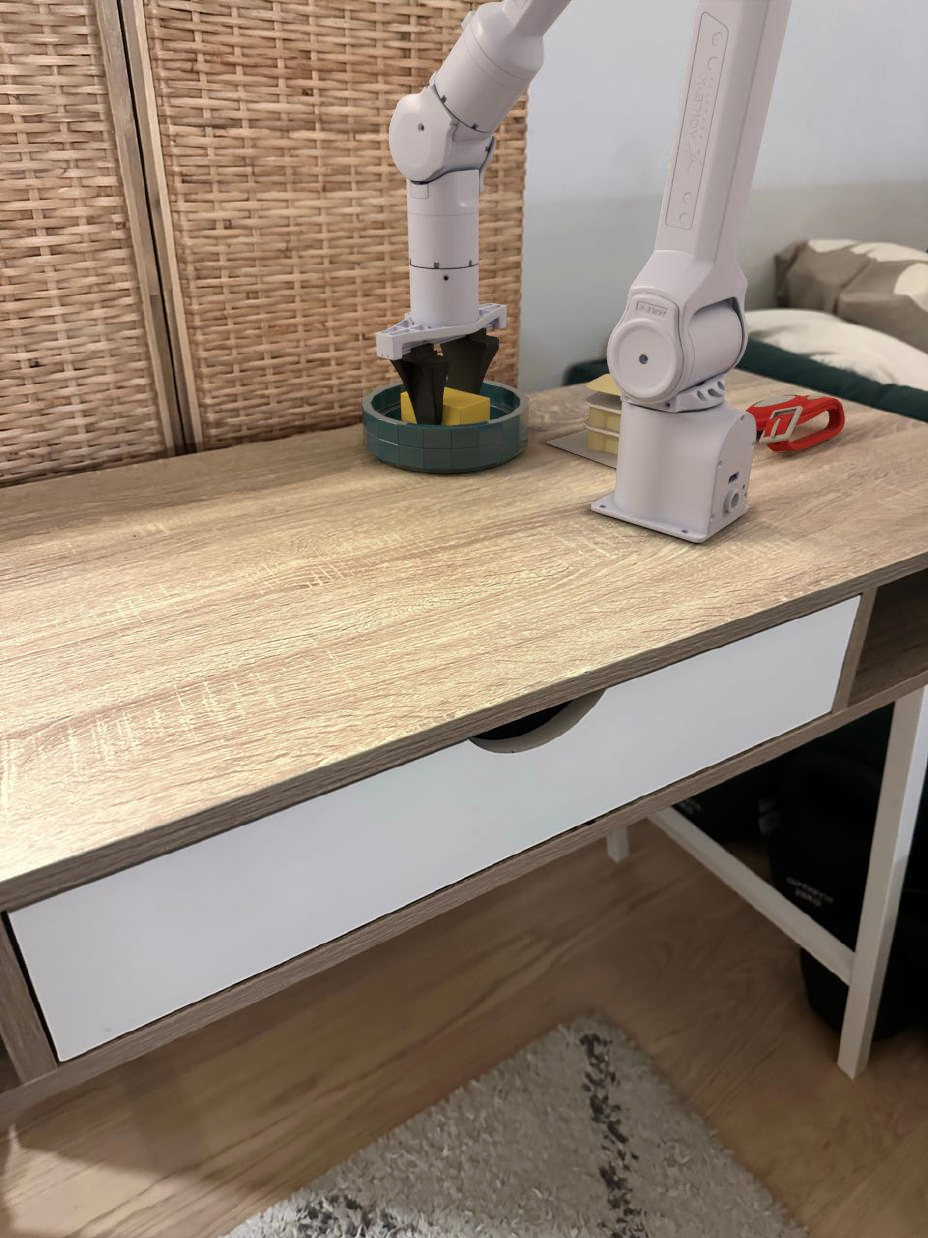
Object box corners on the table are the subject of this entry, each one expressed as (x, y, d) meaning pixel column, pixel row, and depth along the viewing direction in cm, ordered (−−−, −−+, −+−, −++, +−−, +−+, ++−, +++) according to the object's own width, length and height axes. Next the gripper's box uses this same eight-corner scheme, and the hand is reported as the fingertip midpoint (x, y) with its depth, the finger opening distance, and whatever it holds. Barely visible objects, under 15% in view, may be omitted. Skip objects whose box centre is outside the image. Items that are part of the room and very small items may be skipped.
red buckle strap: (713, 408, 90) (812, 378, 90) (722, 452, 92) (819, 423, 92) (765, 419, 79) (878, 385, 79) (774, 470, 80) (885, 436, 80)
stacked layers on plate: (695, 449, 84) (703, 388, 81) (628, 473, 79) (634, 409, 76) (611, 421, 90) (616, 364, 88) (545, 442, 85) (547, 382, 83)
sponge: (489, 441, 84) (490, 397, 82) (460, 453, 81) (460, 408, 79) (431, 425, 88) (430, 382, 86) (402, 436, 85) (400, 392, 83)
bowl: (559, 442, 86) (561, 397, 83) (454, 490, 76) (454, 440, 74) (439, 410, 94) (439, 368, 92) (331, 449, 84) (327, 403, 82)
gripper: (464, 246, 84) (464, 396, 91) (345, 269, 74) (356, 435, 81) (527, 255, 80) (523, 410, 87) (410, 280, 70) (415, 453, 77)
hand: (446, 424), depth 84 cm, fingers closed on sponge, 4 cm apart
